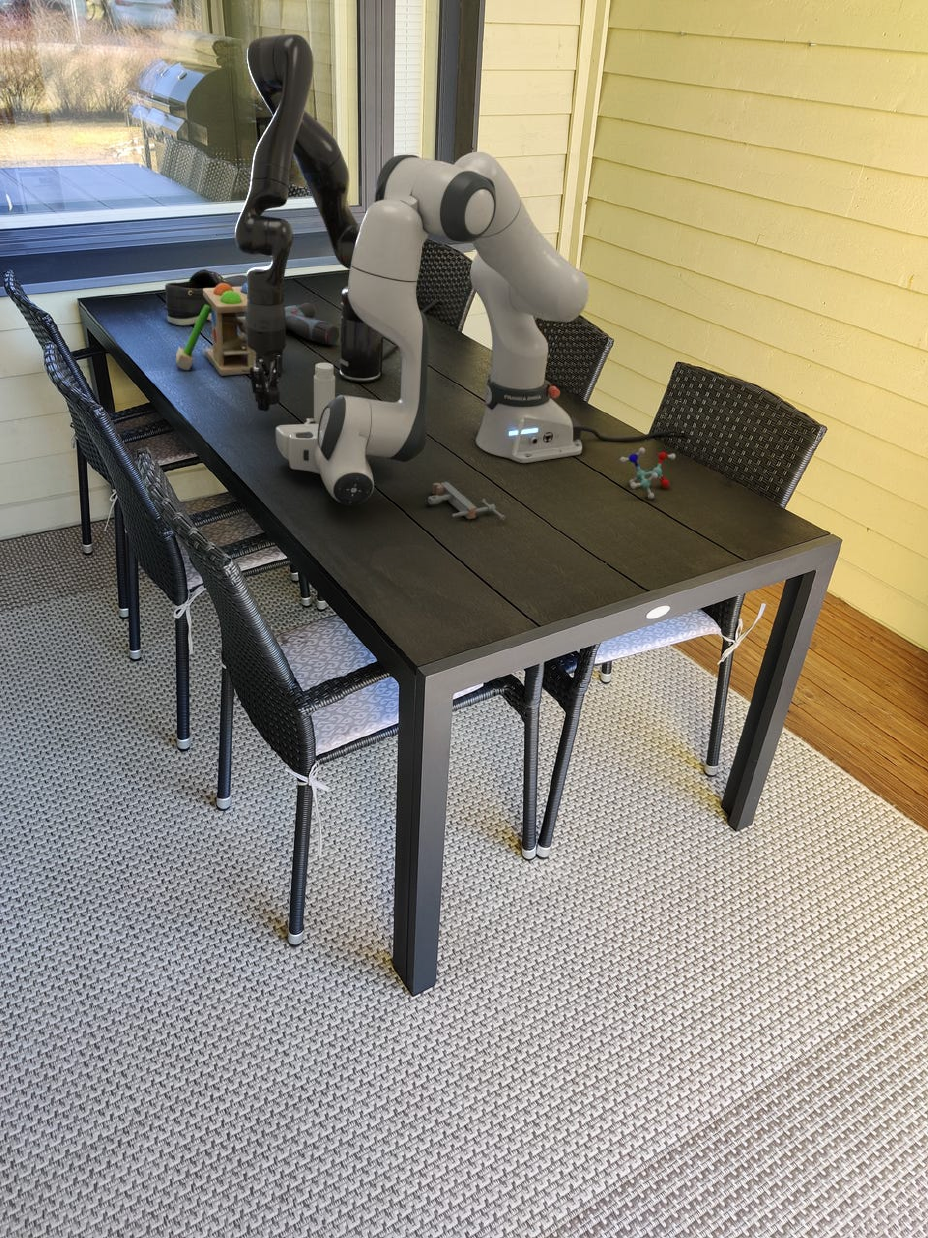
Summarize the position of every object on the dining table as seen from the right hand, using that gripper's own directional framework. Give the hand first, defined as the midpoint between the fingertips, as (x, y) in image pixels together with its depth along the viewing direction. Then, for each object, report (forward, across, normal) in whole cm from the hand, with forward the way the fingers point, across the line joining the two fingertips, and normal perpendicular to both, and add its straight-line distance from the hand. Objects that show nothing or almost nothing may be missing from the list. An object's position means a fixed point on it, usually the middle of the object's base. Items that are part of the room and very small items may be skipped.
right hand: (323, 421), depth 192 cm
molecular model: (-24, -59, +6) cm, 64 cm away
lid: (+14, +9, -1) cm, 17 cm away
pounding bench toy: (+49, +14, +6) cm, 52 cm away
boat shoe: (+91, +14, +6) cm, 92 cm away
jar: (-1, 0, +6) cm, 7 cm away
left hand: (+14, +9, +2) cm, 17 cm away
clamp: (-28, -21, +6) cm, 35 cm away
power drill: (+70, -10, +6) cm, 71 cm away
